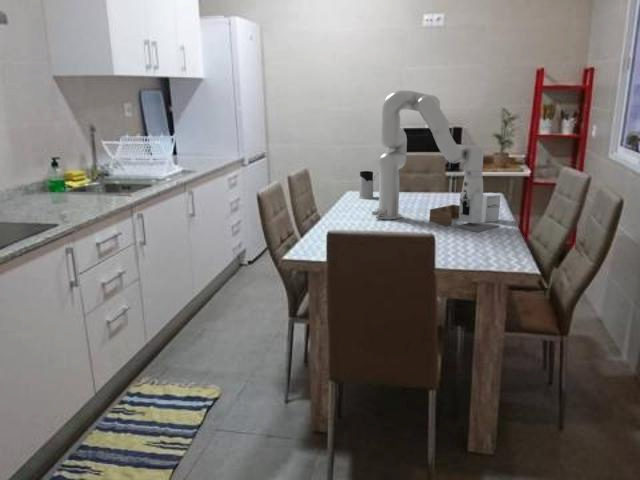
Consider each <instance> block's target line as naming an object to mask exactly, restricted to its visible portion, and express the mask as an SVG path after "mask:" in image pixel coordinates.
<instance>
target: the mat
mask: <svg viewBox="0 0 640 480" xmlns="http://www.w3.org/2000/svg"><path fill="white" fill-rule="evenodd" d="M498 227H500V224H495V223H489V222H483V221H480V222H477V223H469V222H466V223H463V224H459V225H455V226H454V228H457V229H461V230H466V231H470V232H474V233H481V232H485V231H488V230H492V229H496V228H498Z"/></svg>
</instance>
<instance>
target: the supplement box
mask: <svg viewBox="0 0 640 480" xmlns="http://www.w3.org/2000/svg"><path fill="white" fill-rule="evenodd" d="M500 204H501V194H498V193H494V192H483V205H482V220H481V221H480V222H485V223H489V222H499V219H500V218H499V217H500V207H501V205H500Z"/></svg>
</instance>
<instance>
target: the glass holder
mask: <svg viewBox="0 0 640 480" xmlns="http://www.w3.org/2000/svg"><path fill="white" fill-rule="evenodd" d="M377 175H379V172H376V173H375V174H374V172H373V171H369V170H362V171H359V195H358V198H359V199H362V200H372V199H374V191H375V190H376V189H377V188H378V187H379V182H378V183H377V185H376V186H375V188H374V181H375V180H376V176H377Z"/></svg>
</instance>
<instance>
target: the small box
mask: <svg viewBox="0 0 640 480" xmlns="http://www.w3.org/2000/svg"><path fill="white" fill-rule="evenodd" d="M483 193H484V192H483ZM483 193H478V194H474V195H473V200H472V201H470V203H469V215H463V214H462V212H463V206H462V203H461V201H460V200H459V206H460V209H459V218H458V221H461V222H466V223H477V222H482V221H481V220H482V205H483ZM459 194H460V195H459V198H460V197H461V196H462V191H461V192H460V193H459ZM465 199H467V198H465ZM466 203H467V201H466Z"/></svg>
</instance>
